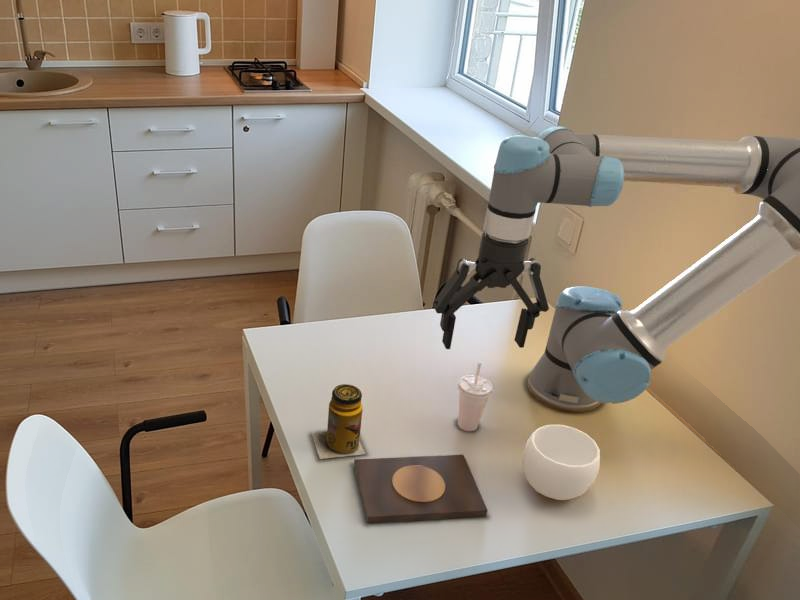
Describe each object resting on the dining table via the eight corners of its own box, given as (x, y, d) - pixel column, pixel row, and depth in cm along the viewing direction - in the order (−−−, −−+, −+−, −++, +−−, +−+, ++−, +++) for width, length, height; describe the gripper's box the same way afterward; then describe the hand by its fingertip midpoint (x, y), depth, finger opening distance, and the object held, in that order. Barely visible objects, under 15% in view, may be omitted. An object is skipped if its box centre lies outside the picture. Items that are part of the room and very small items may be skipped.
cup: (603, 506, 123) (618, 463, 118) (538, 518, 120) (551, 474, 115) (565, 459, 133) (577, 417, 128) (504, 468, 130) (514, 426, 125)
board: (462, 460, 131) (463, 453, 130) (486, 516, 120) (487, 509, 119) (353, 465, 129) (354, 458, 128) (367, 523, 117) (368, 516, 116)
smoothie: (482, 416, 143) (495, 357, 135) (485, 437, 137) (499, 376, 130) (450, 413, 143) (461, 354, 135) (451, 433, 138) (463, 373, 130)
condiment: (365, 454, 131) (370, 401, 125) (319, 459, 130) (323, 406, 123) (354, 429, 137) (359, 377, 131) (311, 434, 136) (313, 381, 129)
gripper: (568, 225, 123) (541, 332, 135) (426, 225, 120) (410, 334, 131) (587, 244, 117) (556, 354, 128) (437, 244, 114) (420, 357, 125)
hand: (482, 344), depth 130 cm, fingers open, 13 cm apart
